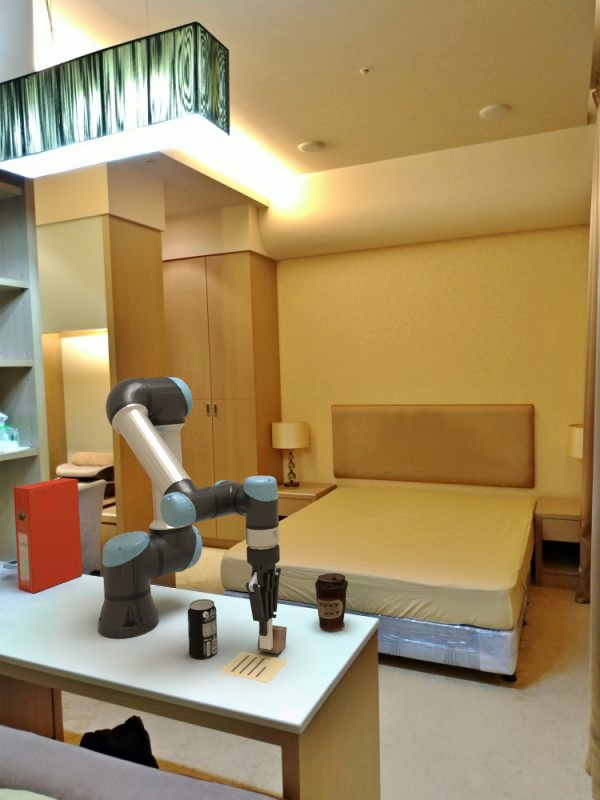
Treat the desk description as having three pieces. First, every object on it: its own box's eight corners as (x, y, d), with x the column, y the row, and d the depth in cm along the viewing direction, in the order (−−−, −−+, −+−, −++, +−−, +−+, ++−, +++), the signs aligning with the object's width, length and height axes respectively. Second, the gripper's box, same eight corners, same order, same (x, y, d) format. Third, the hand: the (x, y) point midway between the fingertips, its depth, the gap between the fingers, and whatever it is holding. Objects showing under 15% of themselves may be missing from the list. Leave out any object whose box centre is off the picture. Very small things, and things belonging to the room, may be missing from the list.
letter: (219, 673, 124) (219, 672, 124) (241, 652, 134) (241, 651, 133) (268, 684, 120) (268, 682, 119) (288, 661, 129) (288, 660, 129)
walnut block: (257, 650, 132) (259, 627, 133) (265, 646, 136) (267, 624, 137) (277, 653, 130) (279, 630, 131) (285, 649, 135) (286, 627, 136)
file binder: (18, 589, 177) (13, 487, 176) (66, 572, 192) (62, 477, 190) (34, 594, 173) (29, 489, 171) (82, 576, 188) (78, 479, 186)
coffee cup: (346, 636, 141) (345, 584, 140) (313, 633, 142) (312, 582, 142) (350, 620, 149) (349, 571, 148) (319, 618, 151) (317, 570, 150)
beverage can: (190, 648, 136) (189, 599, 136) (218, 646, 137) (216, 597, 136) (187, 662, 130) (185, 610, 129) (216, 660, 130) (215, 608, 130)
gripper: (264, 554, 122) (267, 663, 123) (290, 539, 134) (293, 638, 135) (233, 551, 126) (237, 657, 126) (261, 536, 137) (265, 633, 138)
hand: (266, 647), depth 130 cm, fingers closed
